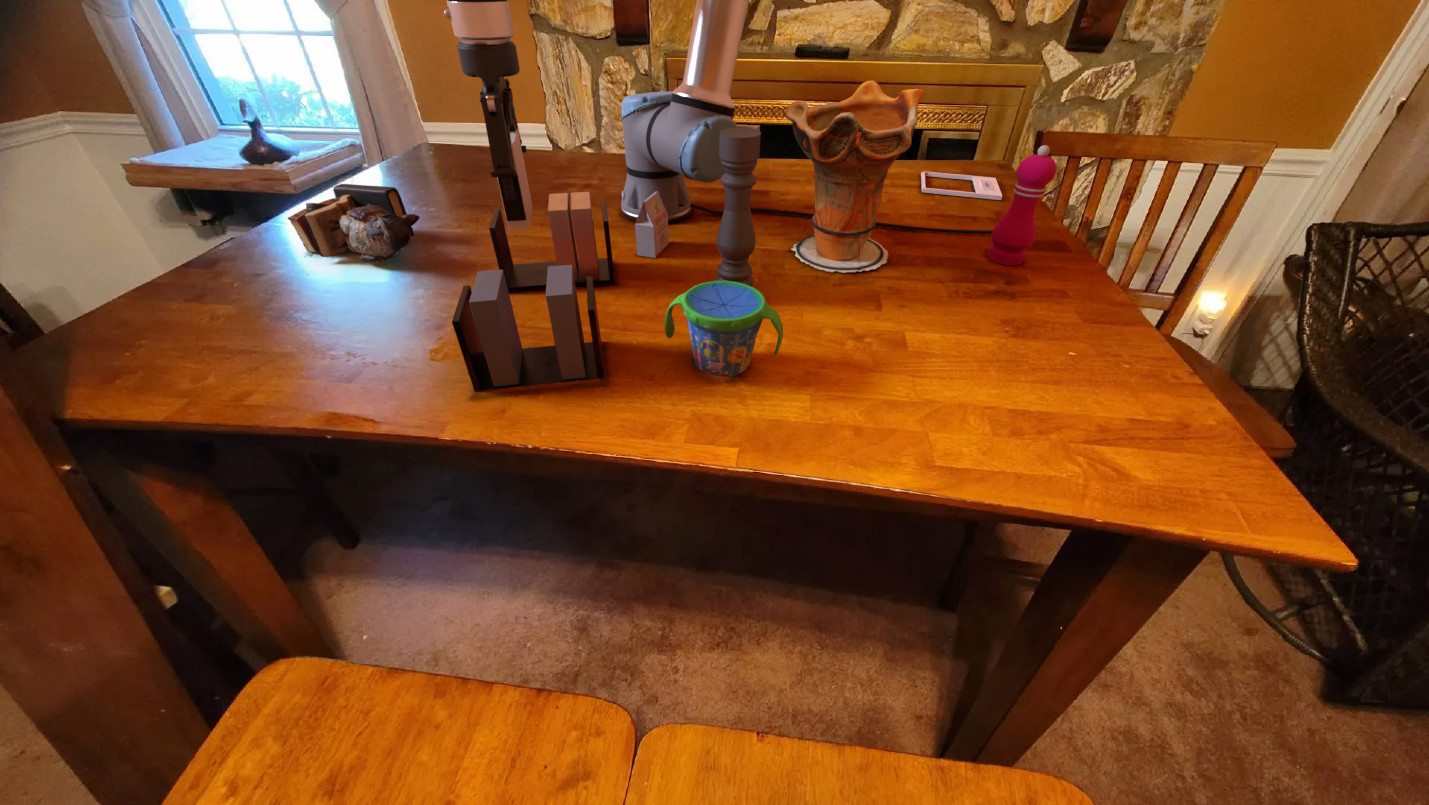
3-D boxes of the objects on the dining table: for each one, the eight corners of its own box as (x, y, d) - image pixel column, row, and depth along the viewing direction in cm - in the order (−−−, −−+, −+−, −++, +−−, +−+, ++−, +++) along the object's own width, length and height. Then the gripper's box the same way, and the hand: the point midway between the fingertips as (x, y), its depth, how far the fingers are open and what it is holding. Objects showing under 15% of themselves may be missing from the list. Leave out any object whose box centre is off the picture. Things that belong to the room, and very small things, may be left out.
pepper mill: (1025, 254, 106) (1069, 143, 94) (1024, 269, 101) (1070, 153, 88) (985, 248, 108) (1022, 137, 96) (982, 262, 103) (1021, 147, 91)
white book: (532, 207, 93) (517, 128, 85) (529, 229, 85) (512, 145, 77) (513, 207, 92) (497, 129, 85) (508, 230, 84) (490, 146, 77)
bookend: (341, 182, 106) (443, 183, 98) (365, 238, 112) (463, 243, 104) (268, 204, 95) (377, 208, 87) (300, 265, 101) (404, 273, 93)
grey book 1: (522, 350, 76) (503, 269, 69) (518, 384, 70) (496, 299, 63) (500, 352, 76) (477, 271, 68) (493, 387, 70) (468, 302, 62)
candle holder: (726, 308, 88) (731, 140, 72) (708, 292, 92) (709, 129, 77) (759, 300, 90) (771, 135, 75) (740, 284, 95) (748, 125, 79)
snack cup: (787, 357, 78) (795, 291, 71) (765, 400, 70) (771, 331, 63) (685, 334, 82) (684, 270, 75) (654, 373, 74) (649, 305, 68)
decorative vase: (755, 256, 104) (766, 86, 86) (824, 223, 117) (846, 71, 100) (851, 292, 93) (885, 107, 75) (915, 252, 106) (957, 86, 89)
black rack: (612, 262, 101) (604, 189, 93) (615, 284, 94) (607, 208, 86) (509, 269, 98) (492, 195, 90) (505, 293, 91) (485, 215, 83)
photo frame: (1002, 195, 129) (922, 187, 133) (1001, 200, 130) (921, 192, 134) (995, 177, 140) (922, 170, 144) (994, 181, 141) (921, 174, 145)
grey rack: (602, 346, 79) (592, 275, 72) (604, 384, 72) (594, 309, 65) (484, 358, 76) (463, 285, 69) (476, 397, 70) (451, 321, 63)
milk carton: (637, 255, 103) (633, 201, 97) (651, 241, 108) (648, 189, 102) (655, 257, 103) (652, 203, 96) (668, 244, 108) (666, 191, 101)
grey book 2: (584, 344, 78) (572, 264, 70) (585, 377, 71) (572, 293, 64) (562, 346, 77) (547, 266, 70) (562, 379, 71) (545, 295, 63)
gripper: (467, 31, 82) (501, 186, 95) (439, 51, 64) (486, 236, 78) (520, 31, 83) (546, 184, 97) (507, 51, 65) (540, 233, 79)
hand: (519, 207), depth 87 cm, fingers closed on white book, 10 cm apart
